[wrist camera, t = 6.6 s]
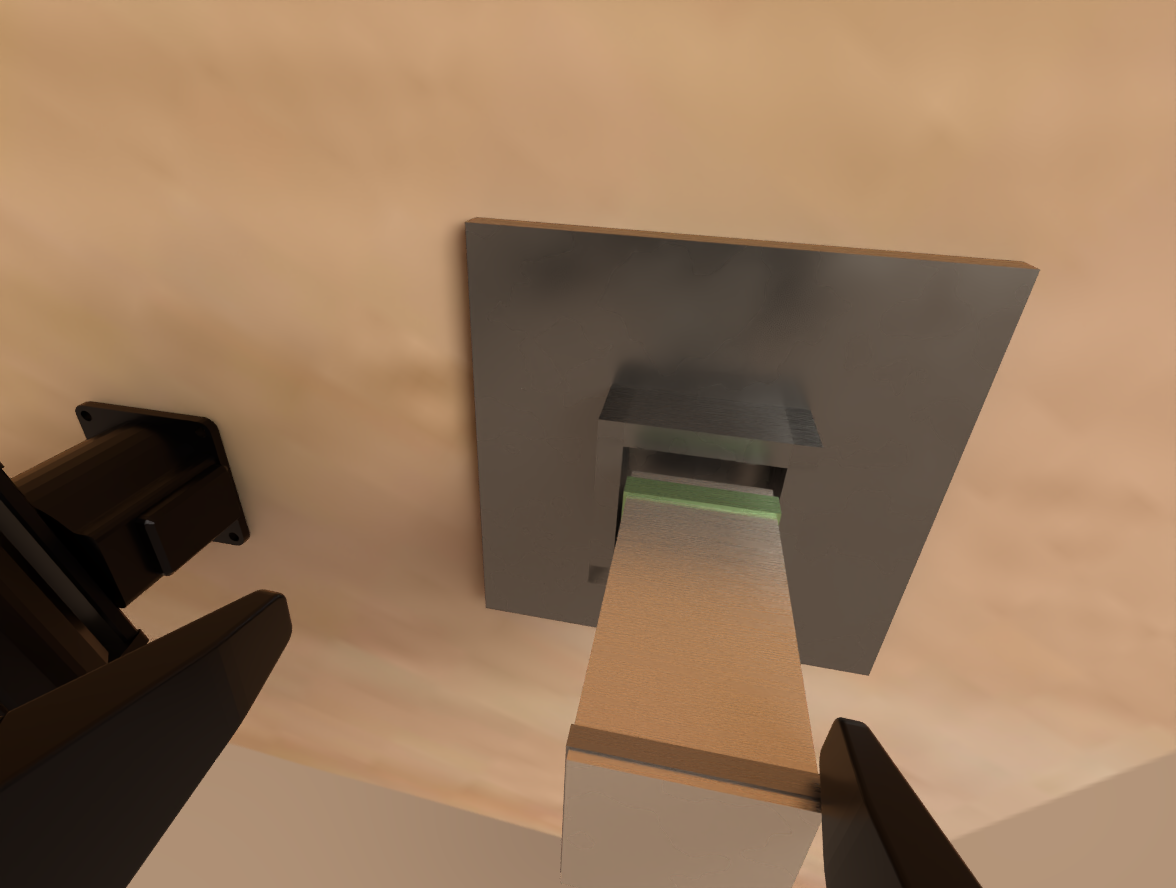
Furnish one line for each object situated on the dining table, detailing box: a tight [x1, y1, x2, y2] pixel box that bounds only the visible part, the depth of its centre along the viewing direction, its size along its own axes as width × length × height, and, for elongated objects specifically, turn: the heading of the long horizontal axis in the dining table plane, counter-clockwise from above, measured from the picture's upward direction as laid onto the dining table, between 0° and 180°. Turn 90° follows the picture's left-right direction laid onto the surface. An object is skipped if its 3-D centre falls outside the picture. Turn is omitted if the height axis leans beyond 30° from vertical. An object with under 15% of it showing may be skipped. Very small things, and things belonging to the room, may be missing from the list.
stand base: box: [465, 217, 1040, 676], centre depth 20 cm, size 16×16×4 cm
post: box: [560, 471, 822, 888], centre depth 14 cm, size 4×4×9 cm
